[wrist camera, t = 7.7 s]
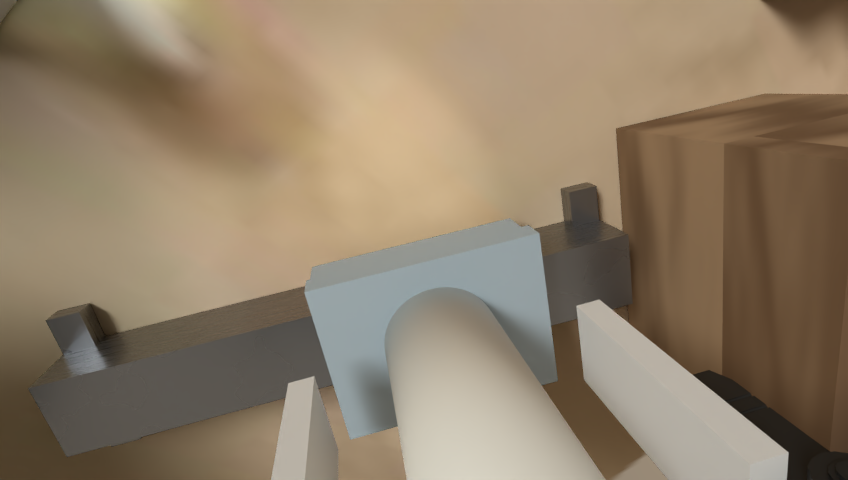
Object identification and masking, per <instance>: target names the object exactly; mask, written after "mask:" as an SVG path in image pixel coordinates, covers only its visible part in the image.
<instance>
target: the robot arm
mask: <svg viewBox="0 0 848 480" xmlns="http://www.w3.org/2000/svg"><path fill="white" fill-rule="evenodd" d="M576 308H577V317H578V327H579V336H580V346H581V355H582V365H583V374H584V380H585V382H586V383H587V384H588V385H589V386H590V387H591V389H592V390H593V391H594V392H595V393H596V395H597V396H598V397H599V398H600V399H601V401H602V402H603V403H604V404H605V405H606V407H607V408H608V409H609V410H610V411H611V412H612V414H613V415H614V416H615V417H616V418H617V420H618V421H619V422H620V423H621V424H622V426H623V427H624V428H625V429H626V430H627V431H628V433H629V434H630V435H631V436H632V437H633V439H634V440H635V441H636V442H637V443H638V445H639V446H640V447H641V448H642V449H643V451H644V452H645V453H646V454H647V455H648V456H649V458H650V459H651V460H652V461H653V462H654V464H655V465H656V466H657V467H658V468H659V470H660V471H661V472H662V473H663V474H664V475H665V477H666V478H667V479H668V480H848V453H844V452H837V451H833V452H830V451H829V450H827V449H826V448H824V447H823V446H822V445H820V444H819V443H818V442H816V441H815V440H814V439H812V438H811V437H809V436H808V435H807V434H805V433H804V432H803V431H801V430H800V429H799V428H797V427H796V426H795V425H793V424H792V423H791V422H789V421H788V420H786V419H785V418H784V417H782V416H781V415H780V414H778V413H777V412H776V411H774V410H773V409H772V408H770V407H769V408H768V407H767V406H766V404H765V403H763V402H762V401H761V400H759V399H758V398H757V397H755V396H752V395H751V393H750V392H749V391H747V390H746V389H744V388H743V387H742V386H740V385H739V384H738V383H736V382H735V381H734V380H732V379H730V378H727V377H725V376H723V375H720V374H718V373H715V372H713V371H710V370H707V371H703V372H700V373H696V374H693V375H692V374H691V373H690V372H688V371H687V370H686V369H685V368H683V367H682V366H681V365H680V364H678V363H677V362H676V361H675V360H674V359H672V358H671V357H670V356H669V355H667V354H666V353H665V352H664V351H662V350H661V349H660V348H659V347H657V346H656V345H655V344H654V343H653V342H651V341H650V340H649V339H648V338H646V337H645V336H644V335H643V334H641V333H640V332H639V331H638V330H636V329H635V328H634V327H633V326H632V325H630V324H629V323H628V322H627V321H625V320H624V319H623V318H622V317H620V316H619V315H618V314H617V313H615V312H614V311H613V310H612V309H610V308H609V307H608V306H607V305H606V304H604V303H603V302H602V301H601V300H596V301H592V302H588V303H585V304H581V305H577V306H576ZM271 480H338V447H337V444H336V441H335V438H334V435H333V432H332V429H331V426H330V423H329V420H328V417H327V414H326V411H325V407H324V404H323V401H322V398H321V395H320V392H319V389H318V386H317V383H316V380H315V377H314V376H313V377H309V378H305V379H302V380H298V381H294V382H291V383H288V387H287V393H286V399H285V404H284V410H283V416H282V421H281V427H280V432H279V438H278V444H277V449H276V455H275V460H274V466H273V472H272V477H271Z"/></svg>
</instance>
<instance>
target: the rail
mask: <svg viewBox="0 0 848 480" xmlns="http://www.w3.org/2000/svg"><path fill="white" fill-rule="evenodd" d="M561 195H562V204H563V214H564V222H561V223H557V224H553V225H549V226H545V227H541V228H537V229H534V230H535V231H537V232H538V233H539V235H540V243H541V251H542V259H543V266H544V274H545V282H546V290H547V298H548V306H549V314H550V322H551V326H552V325H556V324H559V323H563V322H567V321H570V320H574V319H578V317H577V308H576V306H577V305H581V304H585V303H588V302H592V301H596V300H601V301H602V302H603V303H604V304H606V305H607V306H608V307H609V308H610V309H615V308H618V307H622V306H626V305H629V304H633V301H632V285H631V269H630V252H629V236H628V234H626V233H624V232H622V231H620V230H618V229H616V228H614V227H612V226H610V225H608V224H606V223H604V222H602V221H600V220H599V213H598V201H597V188H596V186H595V185H592V184H590V183H583V184H579V185H574V186H570V187H566V188H562V189H561ZM304 291H305V287H301V288H297V289H293V290H289V291H285V292H281V293H277V294H273V295H269V296H265V297H261V298H257V299H253V300H249V301H245V302H241V303H237V304H233V305H229V306H225V307H221V308H217V309H213V310H209V311H205V312H201V313H197V314H193V315H189V316H185V317H181V318H177V319H173V320H169V321H165V322H161V323H157V324H153V325H149V326H145V327H141V328H137V329H133V330H129V331H125V332H121V333H117V334H113V335H109V336H105V335H104V332H103V330H102V328H101V326H100V324H99V322H98V320H97V318H96V316H95V314H94V312H93V310H92V307H91V305H90V303H89V304H85V305H81V306H77V307H72V308H68V309H64V310H60V311H57V312H56V313H55V314H53V315H52V316H51V317H49V318H48V319H47V320H46V322H47V324H48V326H49V328H50V330H51V332H52V334H53V336H54V338H55V339H56V341H57V343H58V345H59V347H60V349H61V351H62V353H63V355H62V356H61V357H60V358H59V359H58V360H57V361H56V362H55V363H54V364H53V365H52V366H51V367H50V368H49V369H48V370H47V371H46V372H45V373H44V374H43V375H41V376H40V377H39V378H38V379H37V380H36V381H35V382H34V383H33V384H32V385H31V386H30V387H29V388H28V389H29V391H30V393H31V395H32V396H33V398H34V400H35V402H36V403H37V405H38V407H39V409H40V411H41V412H42V414H43V416H44V418H45V419H46V421H47V423H48V425H49V426H50V428H51V430H52V432H53V433H54V435H55V437H56V439H57V441H58V442H59V444H60V446H61V448H62V449H63V451H64V453H65V455H66V456H67V457H69V456H73V455H76V454H80V453H84V452H87V451H91V450H95V449H99V448H102V447H106V446H110V445H111V447H113V446H116V445H120V444H124V443H127V442H131V441H135V440H138V439H141V438H142V437H143V436H146V435H150V434H154V433H158V432H161V431H165V430H169V429H172V428H176V427H180V426H183V425H187V424H191V423H194V422H198V421H202V420H205V419H209V418H213V417H217V416H220V415H224V414H228V413H231V412H235V411H239V410H242V409H246V408H250V407H253V406H257V405H261V404H264V403H268V402H272V401H275V400H279V399H283V398H286V393H287V387H288V383H291V382H294V381H298V380H302V379H305V378H309V377H313V376H314V377H315V380H316V383H317V386H318V389H320V388H323V387H327V386H331V385H333V383H332V379H331V376H330V373H329V370H328V367H327V363H326V360H325V357H324V354H323V351H322V347H321V344H320V341H319V338H318V335H317V331H316V328H315V325H314V322H313V319H312V315H311V312H310V309H309V306H308V303H307V299H306V296H305V293H304Z"/></svg>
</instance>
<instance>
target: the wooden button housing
mask: <svg viewBox="0 0 848 480" xmlns="http://www.w3.org/2000/svg"><path fill="white" fill-rule="evenodd" d="M616 134H617V149H618V164H619V180H620V195H621V210H622V225H623V232H624V233H626V234H628V236H629V252H630V269H631V285H632V301H633V304H629V305H628V317H629V324H630V325H632V326H633V327H634V328H635V329H636V330H638V331H639V332H640V333H641V334H643V335H644V336H645V337H646V338H648V339H649V340H650V341H651V342H653V343H654V344H655V345H656V346H657V347H659V348H660V349H661V350H662V351H664V352H665V353H666V354H667V355H669V356H670V357H671V358H672V359H674V360H675V361H676V362H677V363H678V364H680V365H681V366H682V367H683V368H685V369H686V370H687V371H688V372H690V373H691V374H692V375H693V374H696V373H700V372H703V371H707V370H710V371H713V372H715V373H718V374H720V375H723V376H725V377H727V378H730V379H732V380H734V381H735V382H736V383H738V384H739V385H740V386H742V387H743V388H744V389H746V390H747V391H749V392H750V393H751V395H752V396H755V397H757V398H758V399H759V400H761V401H762V402H763V403H765V404H766V406H767V407H768V408H769V407H770V408H772V409H773V410H774V411H776V412H777V413H778V414H780V415H781V416H782V417H784V418H785V419H786V420H788V421H789V422H791V423H792V424H793V425H795V426H796V427H797V428H799V429H800V430H801V431H803V432H804V433H805V434H807V435H808V436H809V437H811V438H812V439H814V440H815V441H816V442H818V443H819V444H820V445H822V446H823V447H824V448H826V449H827V450H829V451H830V452H833V451H837V452H844V453H848V94H762V95H758V96H754V97H750V98H745V99H741V100H737V101H732V102H728V103H724V104H720V105H715V106H711V107H707V108H702V109H698V110H694V111H689V112H685V113H681V114H677V115H672V116H668V117H664V118H659V119H655V120H651V121H647V122H642V123H638V124H634V125H629V126H625V127H621V128H617V129H616Z"/></svg>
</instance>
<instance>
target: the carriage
mask: <svg viewBox="0 0 848 480" xmlns="http://www.w3.org/2000/svg"><path fill="white" fill-rule="evenodd" d="M304 293H305V296H306V299H307V303H308V306H309V309H310V312H311V315H312V319H313V322H314V325H315V328H316V331H317V335H318V338H319V341H320V344H321V347H322V351H323V354H324V357H325V360H326V363H327V367H328V370H329V373H330V376H331V379H332V383H333V386H334V389H335V392H336V395H337V399H338V402H339V405H340V408H341V411H342V415H343V418H344V421H345V424H346V427H347V431H348V434H349V437H350V440H351V439H354V438H358V437H361V436H365V435H368V434H372V433H376V432H379V431H383V430H386V429H390V428H393V427H397V426H398V431H399V436H400V442H401V448H402V454H403V460H404V466H405V472H406V477H407V480H606V479H605V478H604V476H603V475H602V474H601V472H600V471H599V469H598V468H597V466H596V465H595V463H594V462H593V460H592V459H591V457H590V456H589V454H588V453H587V451H586V450H585V449H584V447H583V446H582V444H581V443H580V441H579V440H578V438H577V437H576V435H575V434H574V432H573V431H572V429H571V428H570V427H569V425H568V424H567V422H566V421H565V419H564V418H563V416H562V415H561V413H560V412H559V410H558V409H557V407H556V406H555V405H554V403H553V402H552V400H551V399H550V397H549V396H548V394H547V393H546V391H545V390H544V388H543V387H542V385H545V384H549V383H552V382H556V381H558V377H557V369H556V361H555V353H554V345H553V337H552V329H551V322H550V314H549V306H548V298H547V290H546V282H545V274H544V266H543V259H542V251H541V243H540V235H539V233H538V232H537V231H535V230H534V229H533V228H531V227H530V226H529V225H528V226H524V227H521V226H519V225H518V224H517V223H515V222H514V221H513V220H511V219H510V218H509V219H505V220H501V221H497V222H493V223H489V224H485V225H481V226H477V227H473V228H469V229H465V230H461V231H456V232H452V233H448V234H444V235H440V236H436V237H432V238H428V239H424V240H420V241H416V242H412V243H408V244H404V245H400V246H396V247H392V248H388V249H383V250H379V251H375V252H371V253H367V254H363V255H359V256H355V257H351V258H347V259H343V260H339V261H335V262H331V263H327V264H323V265H319V266H315V267H312V272H311V278H310V280H307V281H306V286H305V291H304Z"/></svg>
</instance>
